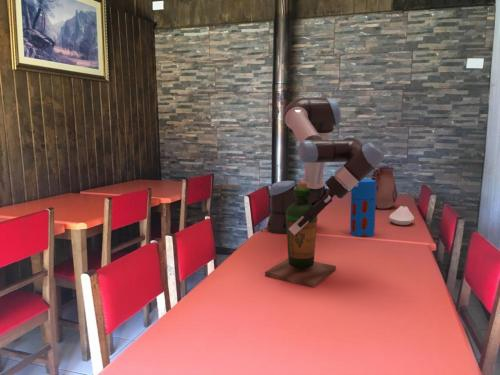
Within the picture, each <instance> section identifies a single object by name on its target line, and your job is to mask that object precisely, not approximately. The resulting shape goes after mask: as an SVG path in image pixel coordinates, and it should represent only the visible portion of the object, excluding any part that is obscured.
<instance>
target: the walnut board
mask: <svg viewBox="0 0 500 375" xmlns="http://www.w3.org/2000/svg"><path fill="white" fill-rule="evenodd" d="M336 269H337V266H336V265H333V264H328V263H323V262H319V261H314V264H313V266H311V267H309V268H295V267H292V266H291V265H290V264H289V261H288V258H287V257H286V259H284V260H282V261H281V262H279V263H277V264H276V265H273V266H272V267H271V268H269V269H267V270H265V271H264V276H265V277H266V278H267V277H268V278H273V279H276V280H281V281H284V282H290V283H292V284H297V285H301V286H304V287H305V286H306V287H309V288H315V287H317V286H318V285H319V284H320V283H322V282H323V281H324V280H325V279H327V278H328V277H329V276H331V275H332V274H333V273H334V272H336Z"/></svg>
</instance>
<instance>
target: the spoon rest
mask: <svg viewBox="0 0 500 375" xmlns="http://www.w3.org/2000/svg"><path fill="white" fill-rule="evenodd" d="M388 216H389V217H388V218H389V220H390V221H391V222H392V223H393V224H395V225H398V226H408V225H410V224H411V223H413V221H414V220H415V216H414V215H413V213H412V212H411V210H409V208H408V206H402V205H400V206H399V207H398V208H397V209H396V210H394V211H393V212H392V213H391V214H389V215H388Z"/></svg>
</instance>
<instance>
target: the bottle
mask: <svg viewBox="0 0 500 375" xmlns="http://www.w3.org/2000/svg"><path fill="white" fill-rule="evenodd" d="M296 184H297V187H296V188H295V190H294V195H295V199H296V202H295V203H293V204H292V205H290V206H289V207H288V209H287V210H286V225H287V233H286V241H287V242H286V243H287V257H288V261H289V264H290V265H291V266H292V267H295V268H309V267H311V266H313V264H314V262H315V252H316V242H317V241H316V238H317V228H318V227H317V226H318V215H317V216H316V217H315V218H314V219H313V220H312V221H311V222H308V223H307V224H306V225H305V226H304V227H303V228H302V229H301V230H300V231H298V232H297V233H296V234H295V235H294V234H293V233H292V232H291V231H290V230H289V228H290V227H291V226H292V225H293V224H294V223H295V222H297V221H298V220H299V219H300V218H301V217H302V214H303V213H304V214H306V213H307V212H308V211H309V210H310V209H311V208H312V207H313V205H312V204H310V203H308V196H309V195H310V191H309V188H307V187H306V186H307V184H300V183H296Z"/></svg>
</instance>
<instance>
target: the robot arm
mask: <svg viewBox="0 0 500 375" xmlns="http://www.w3.org/2000/svg"><path fill="white" fill-rule="evenodd" d="M341 114H342V113H341V107H340V103H339V102H338V100H337V99H335V98H334V97H299V98H297V99H294V100H293V101H291V102H290V103H288V105H287V106H286V108H285V109H284V112H283V121H284V123H285V125H286V126H287V128H289V129H291V130H292V132H293V134H294V136H295V137H296V139H297V141H298V142H299V145H298V146H299V147H298V156H299V160H300V162H302V163H305V166H304V174H303V176H302V177H301V178H300V181H299V184H307V186H306V187H307V188H309V191H310V195H309V196H308V203H310V204H312V205H313V207H312V208H311V209H310V210H309V211H308V212H307V213H306V214H304V213H303V214H302V217H301V218H300V219H299V220H298V221H297V222H295V223H294V224H293V225H292V226H291V227H290V228H289V230H290V231H291V232H292V233H293V234H294V235H295V234H296V233H297V232H298V231H300V230H301V229H302V228H303V227H304V226H305V225H306V224H307V223H308V222H311V221H312V220H313V219H314V218H315V217H316V216H317V217H318V215H320V213H321V212H322V211H323V210H324V209H325V208H326V207H327V206H328V205H330V204H331V203H332V201H333V198H334V197H335V196H336V197H337V198H339V199H343V198H344V197H345V196H346V195H347V194H349V191H351V189H352V188H353V187H354V186H356V187H357V186H358V184H357V183H359V182H360V181H361V180H362V179H366V177H367V176H368V175H369V174H371V173H372V172H373V170H374V169H375V168H376V167H377V166H380V164H381V163H382V162H383V161H384V160H385V155H384V154H383V153H382V152H381V151H380V150H379V149H378V148H377V147H376V146H375V144H373V143H372V142H367V143H365V144H363V143H362V142H361V141H360V139H358V138H356V137H355V136H351V135H346V136H344V137H342V138H341V139H329V138H330V134H332V133H333V132H334V130H335V127H337V126H339V125H340V123H341V117H342V116H341ZM326 163H344V164H343V165H342V166H340V167H339V169H337V170H336V171H335V172H334V175H331V176H330V177H328V179H327V180H326V181H325V180H324V179H323V176H324V170H325V164H326ZM297 184H298V183H296V182H295V180H283V181H282V180H281V181H278V182H274V183H272V185H270V192H269V195H270V214H269V217H268V221H267V223H266V230H267V231H268V232H269V233H270V232H271V233H274V234H287V225H286V210H287V209H288V207H289V206H290V205H292V204H293V203H295V202H296V199H295V195H294V190H295V188H296V187H297Z"/></svg>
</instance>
